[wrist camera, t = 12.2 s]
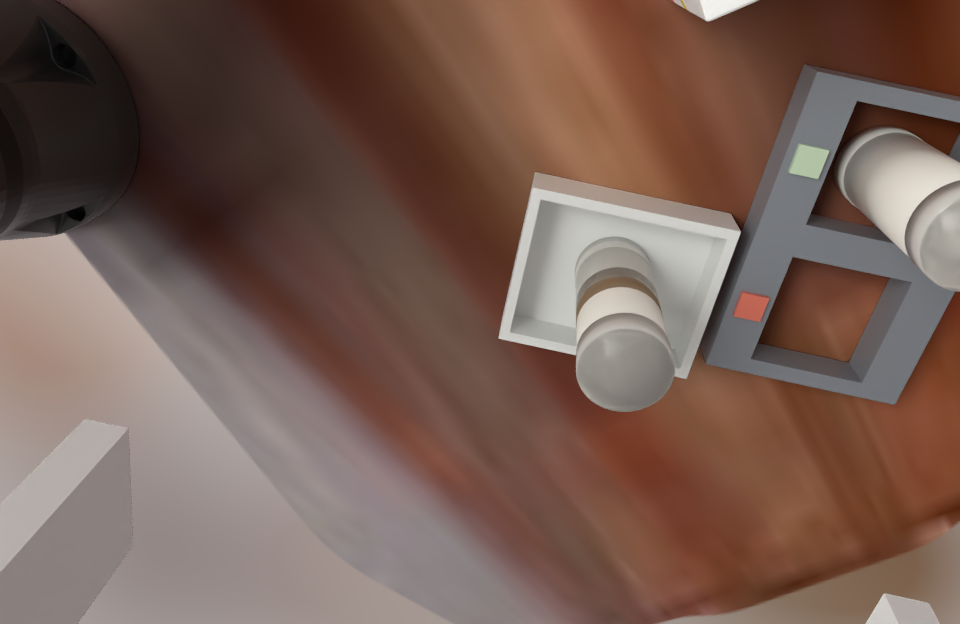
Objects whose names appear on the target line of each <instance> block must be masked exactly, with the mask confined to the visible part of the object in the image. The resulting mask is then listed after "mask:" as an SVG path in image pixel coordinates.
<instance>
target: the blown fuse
mask: <svg viewBox="0 0 960 624" xmlns="http://www.w3.org/2000/svg"><path fill="white" fill-rule="evenodd" d="M575 289H576V331H577V348H576V375H577V380H578V383H579V386H580V388H581V389H582V391H583V393H584V394H585V395H586V396H587V397H588V398H589V399H590V400H591V401H593V402H594V403H595V404H597V405H599V406H601V407H603V408H606V409H609V410H613V411H621V412H628V411H636V410H640V409H644V408H646V407H648V406H650V405H652V404H654V403H656V402H657V401H658V400H660V399H661V398H662V397H663V396H664V395H665V394H666V392H667V391H668V390H669V388H670V387H671V384H672V382H673V379H674V375H675V363H674V358H673V354H672V350H671V346H670V342H669V339H668V337H667V334H666V330H665V325H664V321H663V315H662V311H661V307H660V303H659V299H658V295H657V292H656V288H655V284H654V277H653V272H652V268H651V263H650V260H649V257H648V255H647V254H646V252H645V251H644V249H643V248H642V247H641V246H640V245H638V244H637V243H635V242H634V241H632V240H630V239H627V238H623V237H614V236H612V237H605V238H601V239H598V240H596V241H594V242H593V243H591V244H589V245H588V246H587V247H586V248H585V249H584V250H583V251H582V252H581V254H580V255H579V257H578V259H577V262H576V266H575Z"/></svg>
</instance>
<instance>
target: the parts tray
mask: <svg viewBox="0 0 960 624" xmlns="http://www.w3.org/2000/svg"><path fill="white" fill-rule="evenodd" d="M740 233H741V231H740V229H739V227H738V226H737V224H736V222H735V220H734V219H733V217H732V215H731V214H730V213H725V212H721V211H716V210H711V209H706V208H702V207H697V206H692V205H688V204H683V203H678V202H674V201H669V200H664V199H660V198H655V197H650V196H645V195H641V194H636V193H631V192H627V191H622V190H617V189H613V188H608V187H603V186H599V185H594V184H589V183H584V182H580V181H575V180H570V179H566V178H561V177H556V176H552V175H547V174H542V173H538V172H535V174H534V178H533V183H532V187H531V191H530V196H529V200H528V205H527V209H526V214H525V218H524V223H523V227H522V231H521V236H520V240H519V245H518V249H517V254H516V258H515V262H514V267H513V271H512V276H511V280H510V285H509V289H508V293H507V298H506V302H505V307H504V311H503V316H502V321H501V327H500V332H499V338H498V339H503V340H508V341H512V342H517V343H522V344H526V345H531V346H535V347H540V348H545V349H549V350H554V351H559V352H563V353H568V354H573V355H576V348H577V331H576V289H575V266H576V262H577V259H578V257H579V255H580V254H581V252H582V251H583V250H584V249H585V248H586V247H587V246H588V245H589V244H591V243H593V242H594V241H596V240H598V239H601V238H605V237H612V236H614V237H623V238H627V239H630V240H632V241H634V242H635V243H637V244H638V245H640V246H641V247H642V248H643V249H644V251H645V252H646V254H647V255H648V257H649V260H650V263H651V268H652V272H653V277H654V284H655V288H656V292H657V295H658V299H659V303H660V307H661V311H662V315H663V321H664V325H665V330H666V334H667V337H668V339H669V342H670V346H671V350H672V354H673V358H674V363H675V375H674V377H679V378H684V379H687V376H688V374H689V371H690V368H691V366H692V363H693V360H694V357H695V355H696V352H697V349H698V347H699V344H700V341H701V339H702V336H703V333H704V331H705V328H706V325H707V322H708V320H709V317H710V314H711V312H712V309H713V306H714V304H715V301H716V298H717V295H718V293H719V290H720V287H721V285H722V282H723V279H724V277H725V274H726V271H727V268H728V266H729V263H730V260H731V258H732V255H733V252H734V250H735V247H736V244H737V242H738V239H739V236H740Z"/></svg>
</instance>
